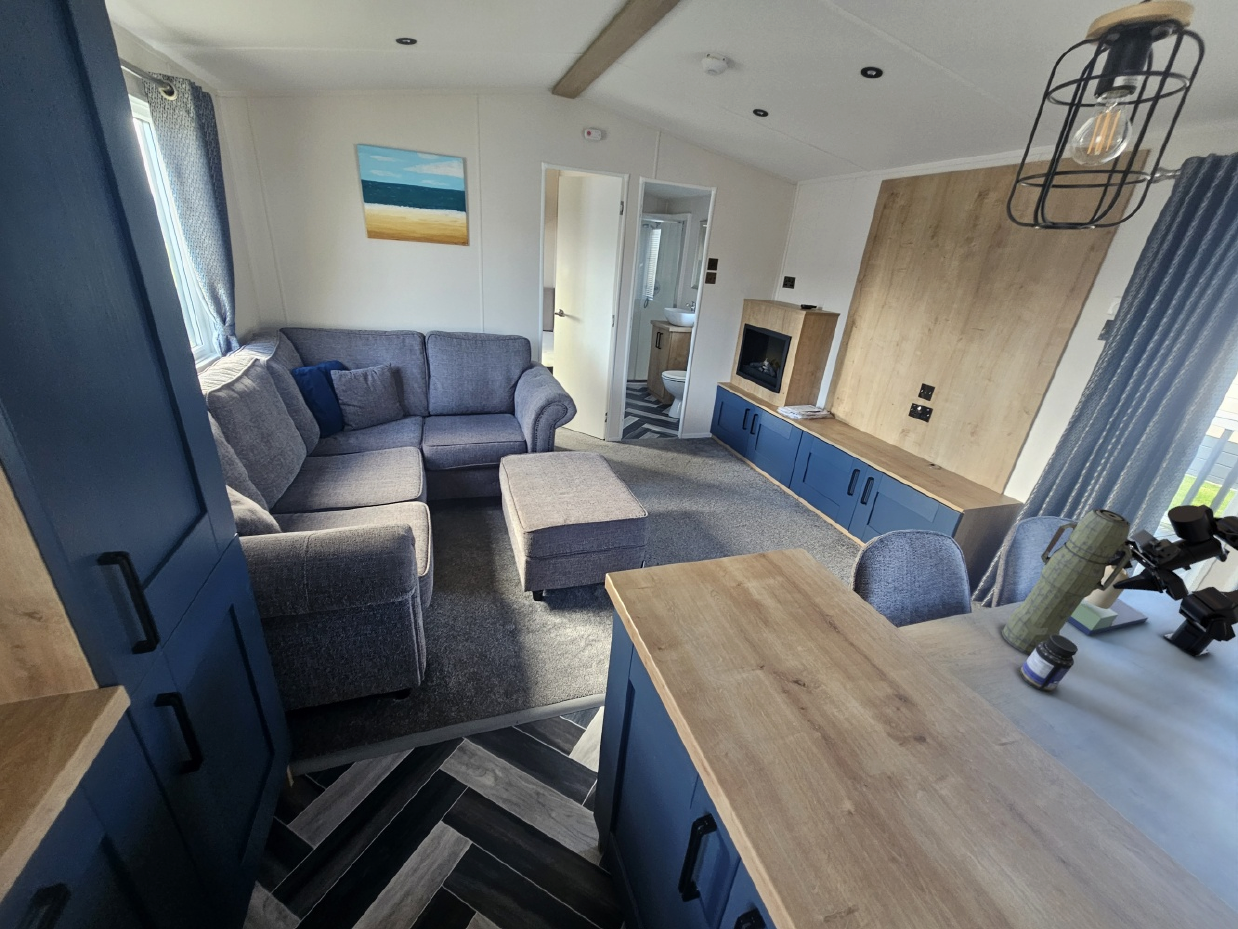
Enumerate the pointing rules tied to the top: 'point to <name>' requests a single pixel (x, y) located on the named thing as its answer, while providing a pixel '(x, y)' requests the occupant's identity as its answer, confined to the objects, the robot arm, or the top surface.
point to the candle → (1107, 590)
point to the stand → (1104, 617)
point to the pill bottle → (1049, 662)
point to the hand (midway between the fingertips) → (1105, 579)
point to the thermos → (1069, 577)
